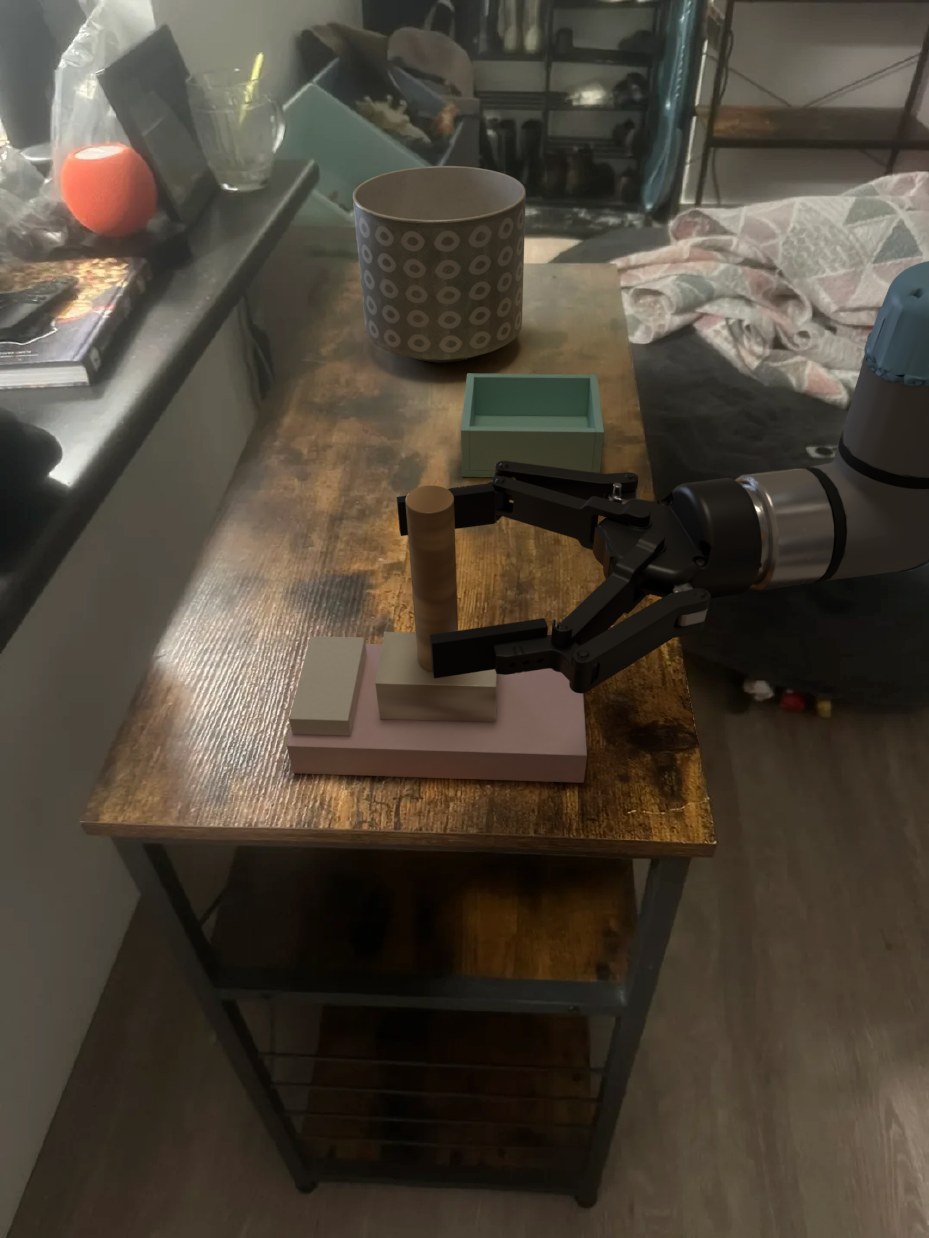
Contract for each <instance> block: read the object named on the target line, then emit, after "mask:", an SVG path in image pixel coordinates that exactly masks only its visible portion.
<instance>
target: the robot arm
mask: <svg viewBox="0 0 929 1238" xmlns="http://www.w3.org/2000/svg"><path fill="white" fill-rule="evenodd" d="M865 341H866V342H865V345H864V355H863V359H862V362H861V366H860V370H859V374H858V377H857V381H856V385H855V387H854V391H853V394H852V398H851V401H850V404H849V408H848V412H847V415H846V419H845V422H844V425H843V429H842V431H841V434H840V438H839V440H838V444H837V446H836V450H835V453H834V457H833V459H832V461H831V462H829V463H823V464H819V465H813V466H807V467H798V468H790V469H781V470H772V471H764V472H756V473H746V474H742V475H740V476H738V477H736V478H735V479H733V478H730V477H723V478H715V479H707V480H699V481H693V482H685V483H680V484H679V485H677V486H676V487H675V488H674V489H673V490H672V491H671V492H670V493H669V494H668V495H667V496H666V497H664V498H662V499H661V500H648V499H642V498H641V497H640V495H639V492H638V486H639V475H638V474H637V473H635V472H628V471H627V472H612V473H611V472H609V473H601V472H600V473H594V472H586V471H579V470H571V469H564V468H556V467H548V466H541V465H533V464H526V463H518V462H511V461H499V462H497V463H496V465H495V474H494V477H492V479H491V480H490V481H489V482H486V483H480V484H472V485H466V486H465V485H463V486H455V487H450V488H447V489H448V490H449V491H450V492H451V493H452V494H453V496H454V516H455V530H457V529H459V530H460V529H466V528H474V527H480V526H488V525H489V526H490V525H495V524H497V523H498V521H499V520H500V519H501V518H502V517H503V518H507V519H510V520H513V521H516V522H520V523H522V524H527V525H530V526H532V527H536V528H540V529H543V530H544V531H545V530H546V531H549V532H552V533H554V534H555V533H556V534H558V535H562V536H566V537H569V538H571V539H575V540H576V541H578V543H579V544H580V546H581V547H582V548H585V549H587V550H590V551H592V554H593V555H594V558H595V560H596V561H597V563H599V564H600V565H601V566H602V571H603V576H604V578H605V579H604V580H603V581H602V582H601V583H600V584H599V585H598V586H597V587H595V589H594V590H593V591H592V592H591V593H590V594H589V595H588V596H587V597H585V599H584V600H582V602H581V603H579V604H578V605H577V606H576V607H575V608H574V609H573V610H572V611H570V613H569V614H568V615H567V616H566V617H565V618H564V619H563V620H562V621H561V622H560V621H557V620H556V619H553V620H552V622H551V634H549V633H548V632H549V626H548V623H547V621H546V618H545V617H542V618H535V619H528V620H522V621H521V620H520V621H514V622H508V623H501V624H494V625H487V626H481V627H473V628H468V629H461V630H458V631H453V632H446V633H439V634H432V635H430V646H431V662H432V672H433V676H434V679H435V678H441V677H448V676H454V675H461V674H467V673H474V672H480V671H487V670H493V669H495V671H496V674H502V675H509V674H515V673H522V672H528V671H535V670H541V669H549V668H550V669H552V670H554V671H556V672H561V673H562V674H563V675H564V676H565V677H566V678H567V679H568V680H569V686H570V689H571V690H572V691H574V692H575V693H583V694H586V693H588V692H589V691H592V690H593V689H594V688H596V687H598V686H599V685H601V684H603V683H604V682H606V681H607V680H609V679H610V678H612V677H614V676H615V675H617V674H619V673H620V672H622V671H623V670H625V669H627V668H628V667H629V666H632V665H633V664H634V663H636V662H637V661H639V660H641V659H642V658H644V657H645V656H647V655H649V654H651V653H652V652H653V651H655V650H657V649H658V648H660V647H662V646H663V645H665V644H666V643H668V642H669V641H671V640H673V639H677V638H679V637H683V636H688V635H692V634H696V633H700V632H702V631H703V630H704V629H705V625H706V619H707V616H708V612H709V607H710V603H711V599H716V598H723V597H731V596H736V595H737V596H738V595H742V594H744V593H745V592H747V591H749V590H750V591H752V592H753V591H754V592H759V591H766V590H772V589H780V588H786V587H787V588H788V587H794V586H800V585H807V584H813V583H814V584H815V583H820V582H826V581H836V580H842V579H843V580H844V579H850V578H851V579H852V578H858V577H866V576H873V575H881V574H889V573H890V574H891V573H907V572H914V571H918V570H921V569H922V568H925V567H929V260H926V261H922V262H919V263H916V264H913V265H911V266H909V267H907V268H906V269H904V270H902V271H901V272H900V273H898V275H896V277H894V279H893V280H892V281H891V282H890V285H889V287H888V289H887V292H886V294H885V297H884V299H883V302H882V304H881V306H880V308H879V309H878V312H877V315H876V318H875V321H874V324H873V326H872V329H871V331H870V332H869V333H868V335H867V338H866V340H865ZM512 477H515V478H512ZM406 497H407V495H399V496H396V507H397V517H398V518H397V519H398V530H399V534H400V537H405V536H408V527H407V514H406ZM599 516H600V517H603V519H602V520H600V521H599ZM650 595H651V596H655V597H659V599H657V600H655V601H654V602H652V603H650V604H649V605H646V606H645V607H643V608H642V609H640V610H638V611H637V612H635V613H634V614H632V615H630V616H628V617H626V618H625V619H623V620H622V621H620V622H618V623H617V624H615V623H616V622H617V621H618V620H619V619H621V617H622V616H623V615H624V614H626V615H629V614H630V613H631V612H632V611H633V610H634V609H635V608H636V607H637V606H638V605H639V604H640V603H641V602H642V601H643V600H644V599H645V598H646V597H647V596H650ZM556 621H557V624H556Z"/></svg>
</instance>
